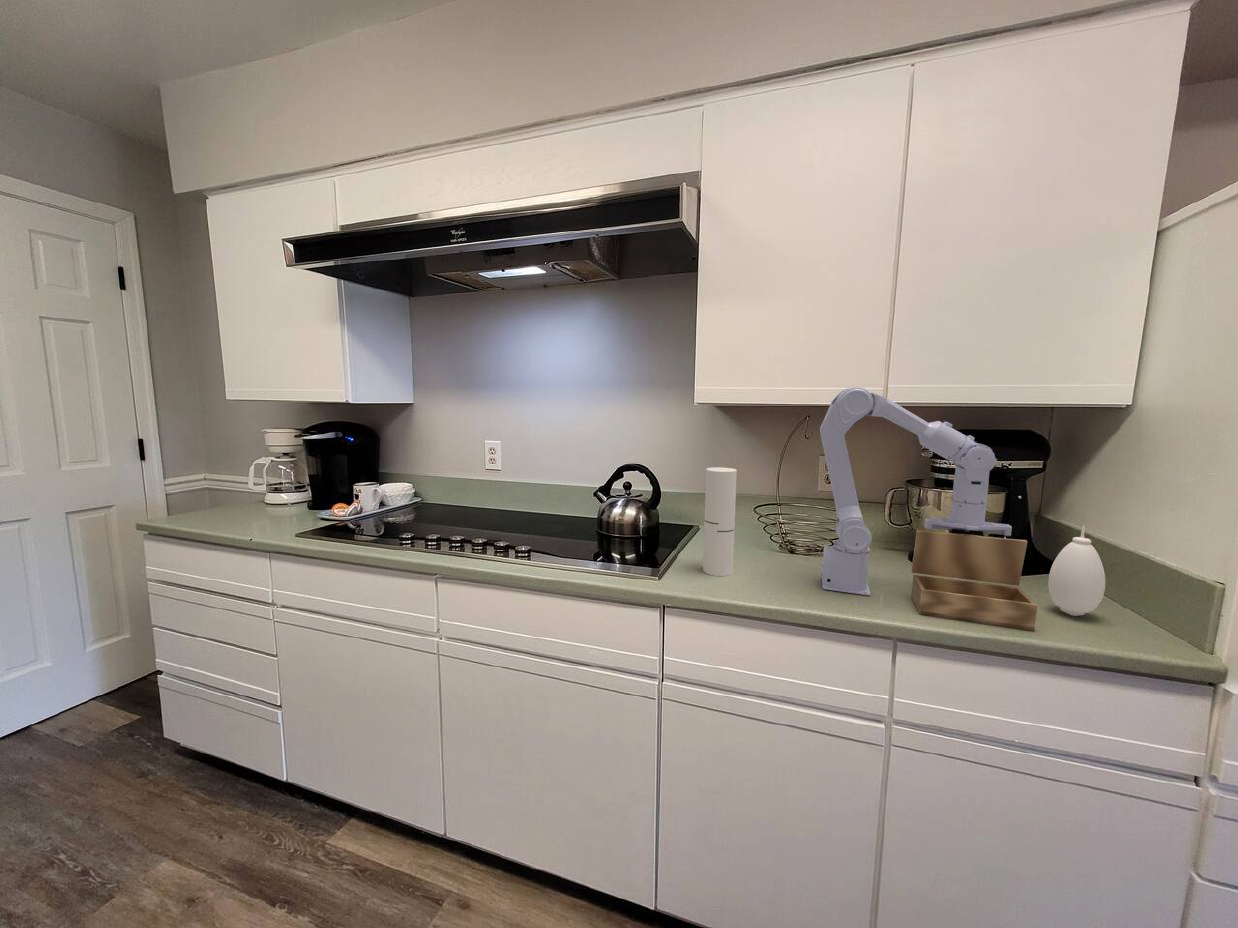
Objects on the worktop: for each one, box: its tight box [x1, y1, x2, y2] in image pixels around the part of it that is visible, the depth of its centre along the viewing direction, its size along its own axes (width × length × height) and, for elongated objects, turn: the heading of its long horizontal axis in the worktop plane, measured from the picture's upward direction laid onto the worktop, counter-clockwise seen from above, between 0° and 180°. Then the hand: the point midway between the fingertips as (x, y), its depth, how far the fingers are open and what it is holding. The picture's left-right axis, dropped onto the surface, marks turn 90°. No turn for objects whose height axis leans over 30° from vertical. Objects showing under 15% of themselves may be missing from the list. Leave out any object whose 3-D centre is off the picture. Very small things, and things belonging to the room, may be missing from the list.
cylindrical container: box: [702, 467, 738, 577], centre depth 116 cm, size 7×7×25 cm
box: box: [910, 574, 1038, 632], centre depth 95 cm, size 18×9×5 cm, turn 68°
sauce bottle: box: [1047, 524, 1106, 617], centre depth 94 cm, size 8×8×18 cm
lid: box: [911, 530, 1028, 587], centre depth 98 cm, size 18×10×1 cm
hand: (962, 565), depth 101 cm, fingers closed, pressing on lid
